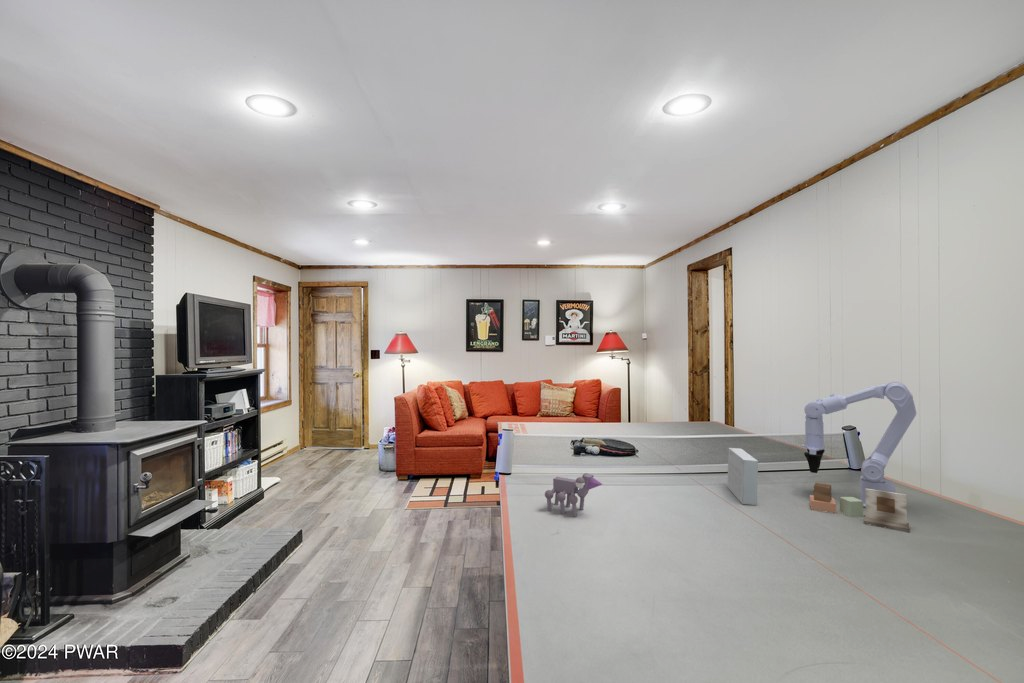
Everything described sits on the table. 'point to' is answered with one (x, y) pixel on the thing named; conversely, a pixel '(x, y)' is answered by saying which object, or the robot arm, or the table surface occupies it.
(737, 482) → the skincare box
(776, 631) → the table surface
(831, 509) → the base block
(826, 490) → the walnut block
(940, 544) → the table surface
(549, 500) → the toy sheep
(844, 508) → the sage block
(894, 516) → the card
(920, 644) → the table surface
